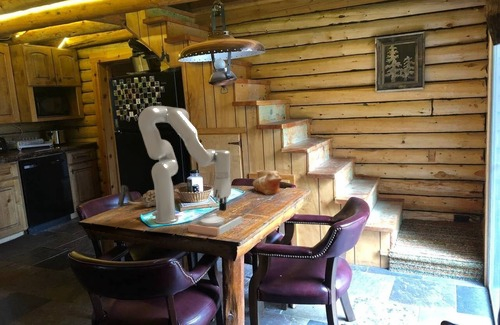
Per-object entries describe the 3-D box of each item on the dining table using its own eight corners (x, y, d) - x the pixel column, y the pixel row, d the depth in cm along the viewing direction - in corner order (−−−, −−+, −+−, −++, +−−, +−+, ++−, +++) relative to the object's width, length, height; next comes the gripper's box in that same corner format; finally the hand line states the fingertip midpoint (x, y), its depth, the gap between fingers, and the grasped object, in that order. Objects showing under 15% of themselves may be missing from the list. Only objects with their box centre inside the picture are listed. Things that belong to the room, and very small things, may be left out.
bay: (188, 231, 191) (187, 224, 191) (214, 218, 210) (214, 212, 209) (217, 236, 183) (217, 228, 182) (242, 222, 202) (241, 215, 201)
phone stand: (120, 206, 244) (118, 187, 242) (117, 204, 249) (115, 186, 247) (134, 204, 249) (133, 185, 247) (132, 202, 254) (130, 183, 252)
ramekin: (218, 234, 185) (218, 223, 185) (197, 232, 189) (196, 222, 188) (227, 227, 196) (227, 216, 195) (207, 225, 200) (206, 215, 199)
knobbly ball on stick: (159, 202, 250) (157, 187, 248) (166, 205, 242) (165, 189, 241) (125, 209, 236) (123, 193, 235) (131, 212, 229) (130, 196, 227)
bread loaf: (269, 196, 253) (268, 173, 251) (249, 189, 276) (248, 168, 274) (287, 193, 260) (286, 170, 258) (266, 186, 283) (265, 165, 280)
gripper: (224, 171, 209) (224, 205, 212) (207, 176, 196) (208, 212, 199) (236, 173, 205) (236, 207, 208) (220, 178, 192) (220, 215, 195)
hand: (222, 210), depth 203 cm, fingers closed
